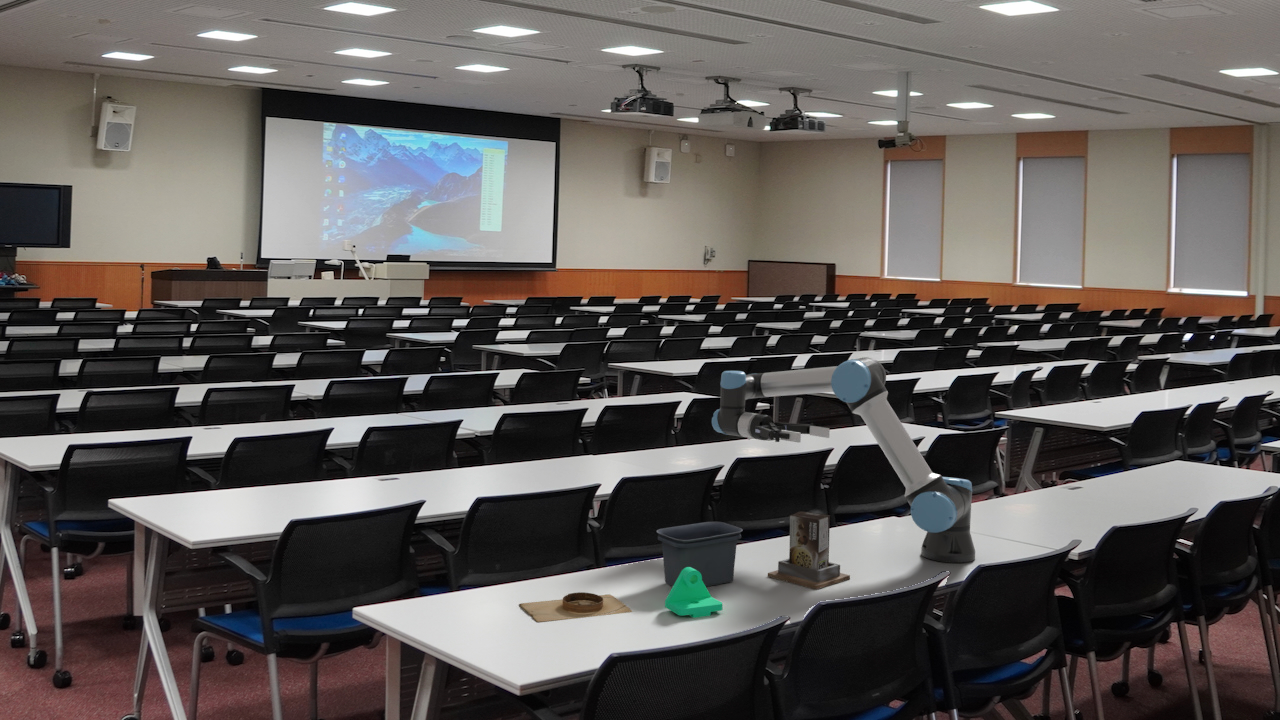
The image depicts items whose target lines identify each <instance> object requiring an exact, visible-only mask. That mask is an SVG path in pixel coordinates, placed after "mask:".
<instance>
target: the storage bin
mask: <svg viewBox="0 0 1280 720" xmlns="http://www.w3.org/2000/svg"><path fill="white" fill-rule="evenodd" d="M743 530H744V529H743V528H741V527H739V526H735V525H733V524H729V523H727V522H724V521H723V522H722V521H706V522H705V521H704V522H698V523H692V524H691V523H690V524H685V525H678V526H677V525H676V526H671V527H664V528H659V529H657V530H656V533H657V534H658V535H657V540H658V541H660V542H661V544H662V546H661V547H662V548H661V549H662V558H663V569H664V570H663V571H664V581H665V584H667V585H668V586H671V587H673V585H674V584H675V582H676V580H677V578H678V576H679V575H680V573H681V571H682V570H683V569H684V568H686V567H691V568H693V569H695V570H697V571H699V572H700V573H701V575H702V581H703V583H704V584H705V586H706V587H711V586H716V585H722V584H726V583H731V582H733V581H734V572H735V563H736V555H737V553H736V551H737V545H738V544H737V543H738V542H737V541H738V540H740V539H742V534H741V533H742V532H743Z"/></svg>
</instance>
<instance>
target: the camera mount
mask: <svg viewBox="0 0 1280 720" xmlns="http://www.w3.org/2000/svg"><path fill="white" fill-rule="evenodd" d="M671 587H672V588H671V590H670V591H669V593H668V595H667V596H666V598H665V599H664V607H665V608H666V609H668V610H669V611H671V612H673V613H675V614H676V615H678V616H682V617H683V616H690V618H693V619H694V618H703V617H710V616H712V615H711V614H712V613H713V612H718V611H719V612H720V611H723V602H721V601H720V600H718V599H716V598H715V597H712V595H711V593H710V591H709V590H708V588H707V586H705V584H704V583H703V581H702V575H701V573H700V572H699V571H697V570H695V569H693V568H691V567H686V568H684V569H683V570H682V571H681V573H680V575H679V576H678V578H677V580H676V582H675V584H674V585H673V586H671ZM711 612H712V613H711Z"/></svg>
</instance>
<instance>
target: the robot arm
mask: <svg viewBox="0 0 1280 720" xmlns="http://www.w3.org/2000/svg"><path fill="white" fill-rule="evenodd" d="M886 381H887V373H886V370H885V368H884V366H883V365H882V364H881V362H879V361H878V360H876V359H874V358H872V357H869V356H867V357H860V358H855V359H853V358H852V359H848V360H845V361H843V362H842V363H840V364H839V365H838V366H837V365H836V366H826V367H825V366H824V367H823V366H822V367H813V368H803V369H794V370H793V369H792V370H784V371H782V370H781V371H771V372H762V373H761V372H759V373H757V372H755V373H748V374H746V373H745V372H744V371H742V370H724V371H723V372H722V373H721V377H720V382H719V383H720V404H719V405H720V406H719V409H716V410H715V411H714V412H713V415H712V417H711V426H712V428H713V430H714V431H715V432H716V433H721V434H723V435H726V436H734V437H735V436H736V437H741V438H747V440H748V441H750V440H752V439H754V440H758V441H759V440H760V441H768V440H771V441H773V440H775V443H779V442H780V441H781V440H782V441H787V442H794V443H801V436H802V435H809V436H813V437H814V436H815V437H819V438H820V437H821V438H826V439H829V438H830V432H831V431H830V428H829V427H823V426H816V425H815V424H814V423H813V422H810V424H808V423H793V422H792V423H790V422H785V421H784V422H780V421H774V419H773V417H771V415H767V414H760V413H757V412H755V413H754V412H747V411H745V410H746V409H745V408H746V401H747V400H751V399H758V398H769V397H772V398H773V397H781V396H782V397H783V396H798V395H806V394H807V395H809V394H810V395H811V394H821V393H822V394H823V393H833V394H834V395H835V396H836V398H837V399H839V400H840V401H842V402H844V403H846V405H847V406H848V408H849V410H850V411H851V413H852V414H855V415H858V416H860V417H861V419H862V420H863V422H864V423H865V424H866V427H867V428H868V430H869V431H870V433H871V434H872V436H873V438H874V439H875V441H876V442H877V445H878V446H879V447H880V450H882V451H883V453H884V455H885V457H886V458H887V460H888V462H889V464H890V465H891V466H892V468H893V470H894V471H895V473H896V474H897V476H898V478H899V479H900V481H901V483H902V484H903V486H904V487H905V492H904V497H905V499H906V502H908V504H909V506H910V516H911V518H912V521H913V522H914V523H915V525H916V526H917V527H918V528H919V529H921V530H923V531H925V532H926V534H925V537H924V540H923V542H922V544H921V547H920V548H921V550H920V552H921V553H920V554H921V556H922V557H924V558H926V559H929V560H931V561H935V562H936V561H937V562H943V563H956V564H957V563H969V562H973V561H974V560H975V559H976V549H975V545H974V541H973V537H972V534H971V520H972V519H971V518H972V516H971V515H972V514H971V513H972V500H973V499H972V497H973V485H972V481H970V480H969V479H964V478H958V477H948V476H942V475H941V474H938V473H935V472H933V471H932V469H931V468H930V466H929V465H928V463H927V462H926V460H925V458H924V457H923V455H922V453H921V452H920V451H919V448H918V447H917V445H916V444H915V443H914V441H913V439H912V437H911V436H910V435H909V432H908V431H907V430H906V428H905V427H904V425H903V423H902V422H901V420H900V418H899V417H898V416H897V414H896V412H895V410H894V409H893V408H892V406H891V405H890V403H889V401H888V395H889V392H888V390H887V388H886V386H885V385H886Z"/></svg>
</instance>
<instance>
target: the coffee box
mask: <svg viewBox="0 0 1280 720" xmlns="http://www.w3.org/2000/svg"><path fill="white" fill-rule="evenodd" d="M830 523H831V515H828V514H823V513H815V512H808V511H803V510H800V511H798V512H795V513H794V514H791V515H790V514H789V557H788V559H789V563H791V564H795V565H799V566H803V567H807V568H811V569H815V570H819V569H822V568H826V567H829V562H830V561H829V560H830V529H831V528H830V525H831V524H830Z"/></svg>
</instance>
